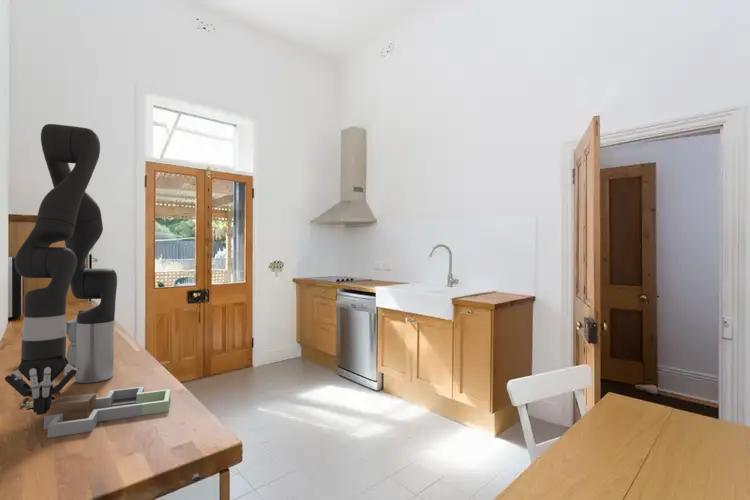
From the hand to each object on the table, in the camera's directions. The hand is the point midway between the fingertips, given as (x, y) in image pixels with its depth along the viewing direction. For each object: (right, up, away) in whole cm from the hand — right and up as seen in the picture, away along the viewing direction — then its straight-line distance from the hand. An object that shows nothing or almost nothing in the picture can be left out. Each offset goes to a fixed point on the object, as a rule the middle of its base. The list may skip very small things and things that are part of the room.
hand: (42, 413), depth 84 cm
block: (+5, -2, +2) cm, 6 cm away
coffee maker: (-26, -3, +46) cm, 53 cm away
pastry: (-11, -3, +13) cm, 17 cm away
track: (+12, -2, +6) cm, 13 cm away
